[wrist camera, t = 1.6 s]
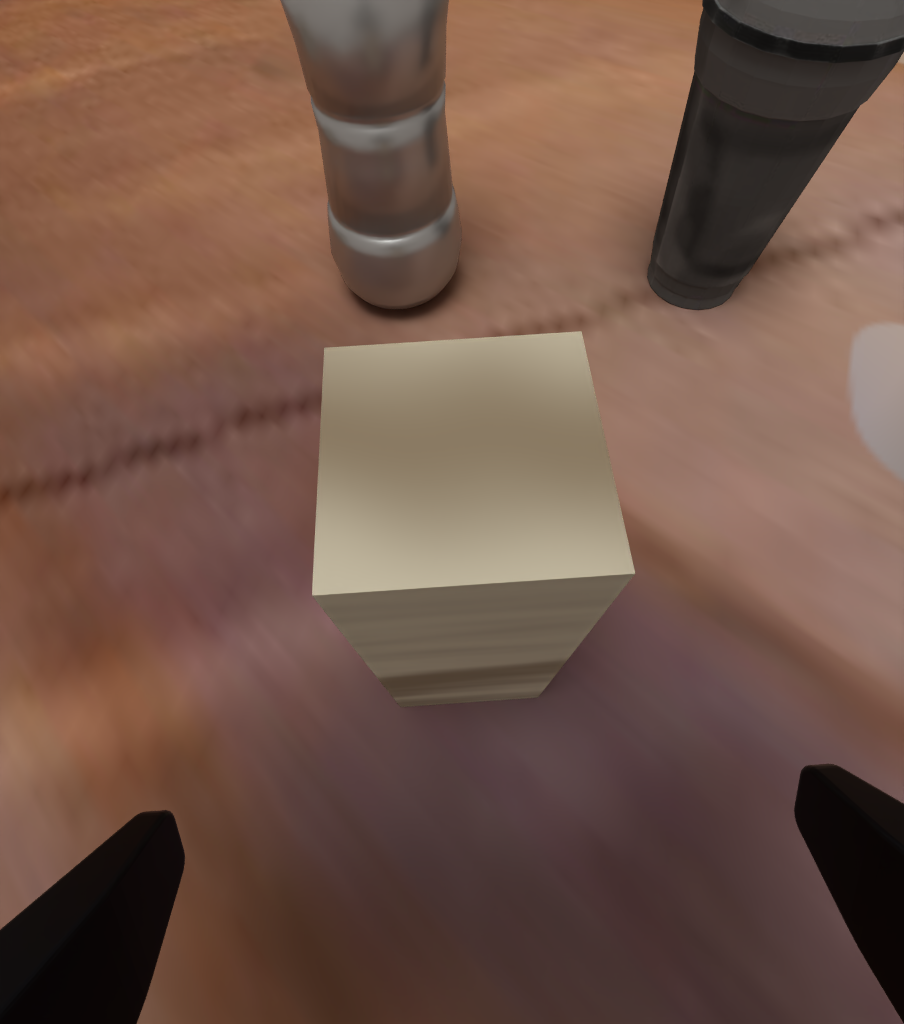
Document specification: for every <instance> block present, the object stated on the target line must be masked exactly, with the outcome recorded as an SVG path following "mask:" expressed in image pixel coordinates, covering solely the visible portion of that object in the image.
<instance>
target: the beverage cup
mask: <svg viewBox="0 0 904 1024" xmlns="http://www.w3.org/2000/svg"><path fill="white" fill-rule="evenodd" d="M702 6H703V12H702V15H701V19H700V25H699V32H698V39H697V46H696V53H695V66H694V70H695V71H694V75H693V79H692V83H691V88H690V92H689V96H688V100H687V104H686V108H685V112H684V117H683V121H682V125H681V129H680V133H679V137H678V141H677V145H676V150H675V154H674V158H673V162H672V166H671V170H670V174H669V179H668V183H667V187H666V191H665V195H664V199H663V203H662V207H661V212H660V216H659V220H658V224H657V228H656V232H655V236H654V241H653V250H652V255H651V262H650V264H649V267H648V276H647V277H648V280H649V283H650V286H651V288H652V289H653V290H654V291H655V292H656V293H657V295H658V296H660V297H661V298H663V299H664V300H666V301H667V302H669V303H671V304H674V305H676V306H679V307H682V308H688V309H695V310H698V309H709V308H713V307H715V306H718V305H721V304H723V303H724V302H725V301H726V300H727V299H729V298H730V297H731V295H732V293H733V291H734V289H735V288H736V287H737V286H738V285H739V283H740V282H741V280H742V279H743V278H744V276H746V275H747V274H748V272H749V271H750V269H751V268H752V266H753V265H754V263H755V262H756V260H757V259H758V257H759V256H760V254H761V253H762V251H763V250H764V248H765V247H766V245H767V244H768V242H769V241H770V239H771V238H772V236H773V235H774V233H775V232H776V230H777V229H778V228H779V226H780V225H781V223H782V222H783V220H784V219H785V217H786V216H787V214H788V213H789V211H790V210H791V208H792V207H793V205H794V204H795V202H796V201H797V199H798V198H799V196H800V195H801V193H802V192H803V190H804V189H805V187H806V186H807V184H808V183H809V181H810V180H811V178H812V177H813V175H814V174H815V172H816V171H817V169H818V168H819V166H820V165H821V163H822V162H823V160H824V159H825V157H826V156H827V154H828V153H829V151H830V150H831V148H832V147H833V145H834V144H835V142H836V141H837V139H838V138H839V136H840V135H841V133H842V132H843V130H844V129H845V127H846V126H847V124H848V123H849V121H850V120H851V118H852V117H853V115H854V114H855V112H856V111H857V109H858V108H859V106H860V105H861V104H863V103H864V102H866V101H867V100H868V99H869V98H870V96H871V95H872V94H873V93H874V91H875V90H876V89H877V88H878V86H879V85H880V84H881V83H882V81H883V80H884V79H885V78H886V76H887V75H888V74H889V73H890V71H891V70H892V69H893V68H894V66H895V65H896V63H897V62H898V60H899V59H900V57H901V55H902V54H903V52H904V0H703V3H702Z"/></svg>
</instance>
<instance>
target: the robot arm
mask: <svg viewBox="0 0 904 1024" xmlns="http://www.w3.org/2000/svg"><path fill="white" fill-rule="evenodd" d="M794 812H795V819H796V823H797V826H798V828H799V830H800V832H801V834H802V836H803V838H804V840H805V842H806V844H807V846H808V848H809V850H810V852H811V854H812V856H813V858H814V861H815V863H816V865H817V867H818V869H819V871H820V873H821V875H822V877H823V879H824V881H825V883H826V885H827V887H828V889H829V891H830V893H831V895H832V897H833V899H834V901H835V903H836V905H837V907H838V909H839V911H840V913H841V915H842V917H843V919H844V921H845V923H846V925H847V927H848V929H849V931H850V933H851V934H852V936H853V938H854V940H855V942H856V944H857V946H858V948H859V949H860V951H861V953H862V954H863V956H864V958H865V960H866V961H867V963H868V965H869V967H870V968H871V970H872V972H873V973H874V975H875V977H876V978H877V980H878V981H879V983H880V985H881V986H882V988H883V990H884V991H885V993H886V995H887V996H888V998H889V1000H890V1001H891V1003H892V1005H893V1006H894V1008H895V1010H896V1011H897V1013H898V1015H899V1016H900V1018H901V1019H902V1021H903V1023H904V804H903V803H902V802H900V801H898V800H896V799H895V798H893V797H891V796H890V795H888V794H886V793H884V792H883V791H881V790H879V789H878V788H876V787H874V786H872V785H871V784H869V783H867V782H865V781H864V780H862V779H860V778H859V777H857V776H855V775H853V774H852V773H850V772H848V771H846V770H845V769H843V768H841V767H839V766H837V765H834V764H820V765H808V766H805V767H804V768H803V769H802V771H801V774H800V779H799V785H798V791H797V796H796V802H795V808H794ZM184 864H185V854H184V849H183V845H182V842H181V838H180V835H179V831H178V828H177V824H176V821H175V818H174V815H173V814H172V813H171V812H170V811H167V810H162V811H148V812H142V813H140V814H138V815H136V816H135V817H133V818H132V819H131V820H130V821H129V822H128V823H126V824H125V825H124V826H123V827H122V828H120V829H119V830H118V831H117V832H116V833H114V834H113V835H112V836H111V837H110V838H109V839H107V840H106V841H105V842H104V843H103V844H101V845H100V846H99V847H98V848H97V849H95V850H94V851H93V852H92V853H91V854H90V855H88V856H87V857H86V858H85V859H84V860H82V861H81V862H80V863H79V864H78V865H76V866H75V867H74V868H73V869H72V870H71V871H69V872H68V873H67V874H66V875H65V876H63V877H62V878H61V879H60V880H59V881H57V882H56V883H55V884H54V885H53V886H52V887H50V888H49V889H48V890H47V891H46V892H44V893H43V894H42V895H41V896H40V897H38V898H37V899H36V900H35V901H34V902H33V903H31V904H30V905H29V906H28V907H27V908H25V909H24V910H23V911H22V912H21V913H19V914H18V915H17V916H16V917H15V918H14V919H12V920H11V921H10V922H9V923H8V924H6V925H5V926H4V927H3V928H2V929H0V1024H137V1021H138V1018H139V1016H140V1013H141V1010H142V1007H143V1005H144V1002H145V999H146V996H147V993H148V990H149V987H150V983H151V980H152V977H153V974H154V970H155V967H156V963H157V960H158V956H159V953H160V950H161V946H162V943H163V939H164V936H165V932H166V929H167V926H168V922H169V919H170V915H171V912H172V908H173V905H174V901H175V898H176V895H177V891H178V888H179V884H180V881H181V877H182V874H183V870H184Z"/></svg>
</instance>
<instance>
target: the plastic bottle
mask: <svg viewBox="0 0 904 1024" xmlns="http://www.w3.org/2000/svg"><path fill="white" fill-rule="evenodd" d="M448 2H449V0H281V3H282V6H283V9H284V12H285V15H286V18H287V21H288V24H289V26H290V29H291V32H292V35H293V38H294V41H295V44H296V48H297V52H298V55H299V59H300V63H301V67H302V71H303V74H304V78H305V82H306V86H307V89H308V91H309V93H310V95H311V104H312V108H313V112H314V116H315V119H316V123H317V127H318V131H319V138H320V145H321V152H322V159H323V165H324V172H325V179H326V186H327V193H328V226H329V235H330V245H331V253H332V255H333V258H334V260H335V262H336V264H337V267H338V269H339V271H340V273H341V276H342V278H343V280H344V282H345V284H346V285H347V286H348V287H349V289H350V290H351V291H353V292H354V293H355V294H356V295H358V296H359V297H360V298H362V299H363V300H365V301H366V302H368V303H370V304H372V305H374V306H377V307H381V308H386V309H406V308H412V307H415V306H418V305H421V304H423V303H425V302H427V301H429V300H431V299H432V298H434V297H435V296H436V295H438V294H439V293H440V291H441V290H442V289H443V288H444V287H445V286H446V284H447V283H448V282H449V281H450V280H451V278H452V276H453V274H454V273H455V270H456V267H457V263H458V258H459V252H460V246H461V241H462V230H461V223H460V216H459V209H458V204H457V200H456V195H455V191H454V188H453V184H452V175H451V165H450V156H449V146H448V136H447V126H446V116H445V82H444V79H445V75H446V25H447V13H448Z"/></svg>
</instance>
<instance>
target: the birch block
mask: <svg viewBox="0 0 904 1024" xmlns="http://www.w3.org/2000/svg"><path fill="white" fill-rule="evenodd" d="M634 574H635V571H634V566H633V562H632V557H631V553H630V548H629V544H628V539H627V535H626V530H625V526H624V521H623V517H622V512H621V508H620V503H619V499H618V494H617V490H616V485H615V481H614V476H613V472H612V467H611V463H610V458H609V454H608V449H607V445H606V440H605V436H604V431H603V427H602V422H601V418H600V413H599V409H598V404H597V400H596V395H595V391H594V386H593V382H592V377H591V372H590V368H589V363H588V359H587V354H586V350H585V345H584V341H583V336H582V332H565V333H549V334H534V335H518V336H503V337H487V338H472V339H456V340H440V341H425V342H409V343H394V344H378V345H363V346H347V347H331V348H324V368H323V388H322V408H321V428H320V448H319V468H318V488H317V508H316V528H315V548H314V568H313V588H312V596H313V597H314V599H315V600H316V601H317V602H318V604H319V605H320V606H321V607H322V609H323V610H324V611H325V612H326V614H327V615H328V616H329V617H330V619H331V620H332V621H333V623H334V624H335V625H336V626H337V628H338V629H339V630H340V631H341V633H342V634H343V635H344V636H345V638H346V639H347V640H348V641H349V643H350V644H351V645H352V647H353V648H354V649H355V650H356V652H357V653H358V654H359V655H360V657H361V658H362V659H363V660H364V662H365V663H366V664H367V665H368V667H369V668H370V669H371V670H372V672H373V673H374V674H375V676H376V677H377V678H378V679H379V681H380V682H381V683H382V684H383V686H384V687H385V688H386V689H387V691H388V692H389V693H390V694H391V696H392V697H393V698H394V700H395V701H396V702H397V703H398V705H399V706H400V707H408V706H423V705H437V704H452V703H466V702H480V701H495V700H509V699H523V698H538V697H539V696H540V694H541V693H542V692H543V691H544V689H545V688H546V687H547V685H548V684H549V683H550V682H551V680H552V679H553V678H554V676H555V675H556V674H557V673H558V671H559V670H560V669H561V668H562V666H563V665H564V664H565V662H566V661H567V660H568V659H569V657H570V656H571V655H572V654H573V652H574V651H575V650H576V648H577V647H578V646H579V645H580V643H581V642H582V641H583V639H584V638H585V637H586V636H587V634H588V633H589V632H590V631H591V629H592V628H593V627H594V625H595V624H596V623H597V622H598V620H599V619H600V618H601V617H602V615H603V614H604V613H605V611H606V610H607V609H608V608H609V606H610V605H611V604H612V603H613V601H614V600H615V599H616V597H617V596H618V595H619V594H620V592H621V591H622V590H623V588H624V587H625V586H626V585H627V583H628V582H629V581H630V580H631V578H632V577H633V576H634Z"/></svg>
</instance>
